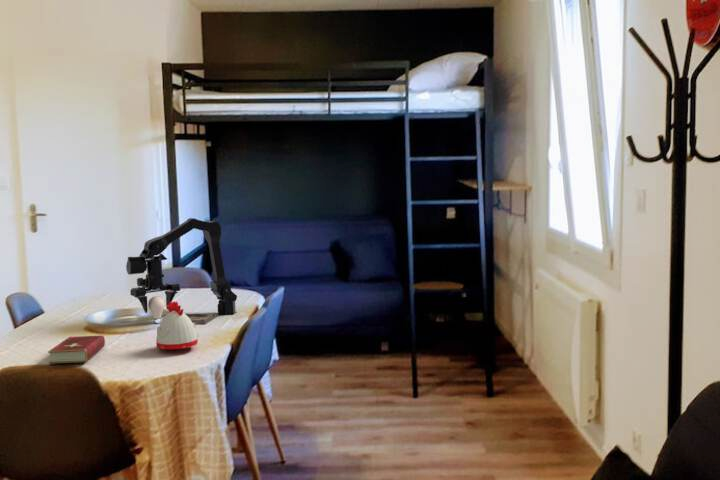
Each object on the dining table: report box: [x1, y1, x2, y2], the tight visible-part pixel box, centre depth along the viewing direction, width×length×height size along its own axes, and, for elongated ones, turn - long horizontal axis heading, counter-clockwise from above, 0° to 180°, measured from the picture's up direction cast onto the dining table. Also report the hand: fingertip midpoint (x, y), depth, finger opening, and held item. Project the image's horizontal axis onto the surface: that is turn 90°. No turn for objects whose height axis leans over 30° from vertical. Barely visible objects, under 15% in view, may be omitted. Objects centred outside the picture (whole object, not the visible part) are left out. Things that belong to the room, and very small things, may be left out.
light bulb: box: [147, 295, 166, 321], centre depth 288 cm, size 7×7×11 cm
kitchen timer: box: [155, 300, 198, 350], centre depth 253 cm, size 14×14×15 cm
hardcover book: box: [47, 334, 106, 365], centre depth 244 cm, size 12×21×4 cm, turn 4°
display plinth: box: [185, 313, 218, 325], centre depth 293 cm, size 14×14×2 cm
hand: (156, 311), depth 288 cm, fingers open, 9 cm apart
